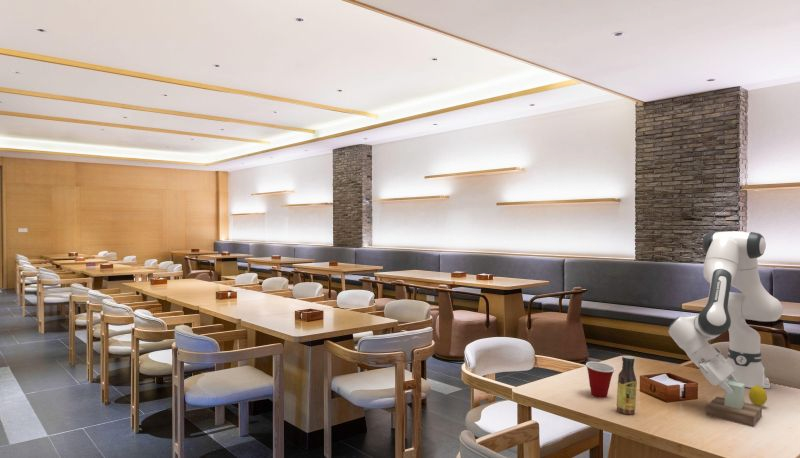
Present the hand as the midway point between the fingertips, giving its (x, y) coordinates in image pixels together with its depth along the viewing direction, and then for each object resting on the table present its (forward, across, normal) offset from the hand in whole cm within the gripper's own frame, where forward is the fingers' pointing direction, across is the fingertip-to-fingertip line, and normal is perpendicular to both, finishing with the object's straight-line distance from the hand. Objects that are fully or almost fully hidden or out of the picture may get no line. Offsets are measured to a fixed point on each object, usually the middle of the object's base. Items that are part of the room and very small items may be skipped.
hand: (735, 389), depth 180 cm
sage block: (+4, 0, +4) cm, 6 cm away
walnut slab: (+7, 0, +7) cm, 10 cm away
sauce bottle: (-13, -26, +27) cm, 40 cm away
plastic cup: (-23, -16, +37) cm, 46 cm away
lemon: (+10, +18, +4) cm, 21 cm away
